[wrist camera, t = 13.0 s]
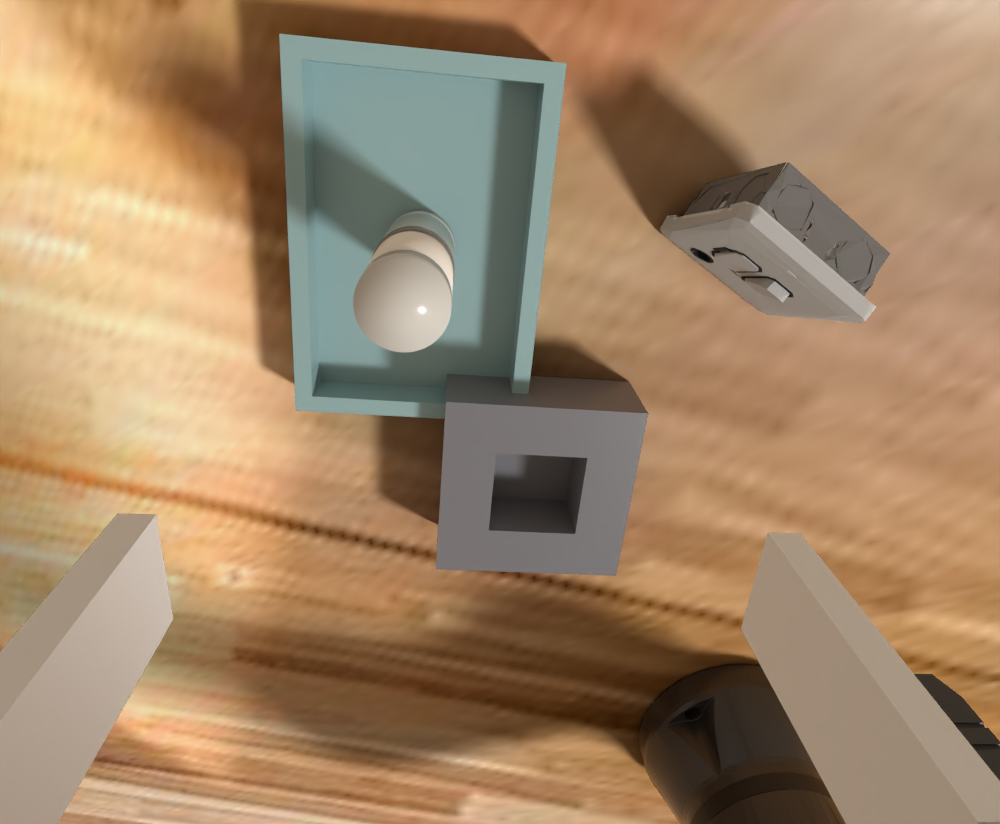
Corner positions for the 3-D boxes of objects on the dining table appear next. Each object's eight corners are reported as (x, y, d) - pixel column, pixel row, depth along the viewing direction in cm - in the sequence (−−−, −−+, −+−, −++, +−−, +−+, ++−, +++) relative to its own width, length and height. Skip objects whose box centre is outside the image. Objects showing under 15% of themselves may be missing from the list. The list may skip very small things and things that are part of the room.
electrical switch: (652, 227, 40) (716, 246, 32) (708, 152, 39) (790, 150, 30) (760, 314, 43) (847, 353, 34) (815, 246, 42) (919, 268, 33)
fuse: (453, 281, 40) (449, 356, 28) (384, 276, 40) (351, 350, 28) (457, 211, 38) (455, 260, 27) (385, 205, 38) (351, 252, 26)
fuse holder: (604, 532, 49) (619, 575, 45) (438, 525, 48) (436, 569, 44) (632, 381, 44) (652, 413, 40) (447, 370, 43) (445, 401, 39)
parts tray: (520, 402, 44) (525, 423, 42) (306, 390, 43) (295, 410, 40) (558, 65, 36) (566, 63, 33) (293, 38, 35) (279, 33, 32)
